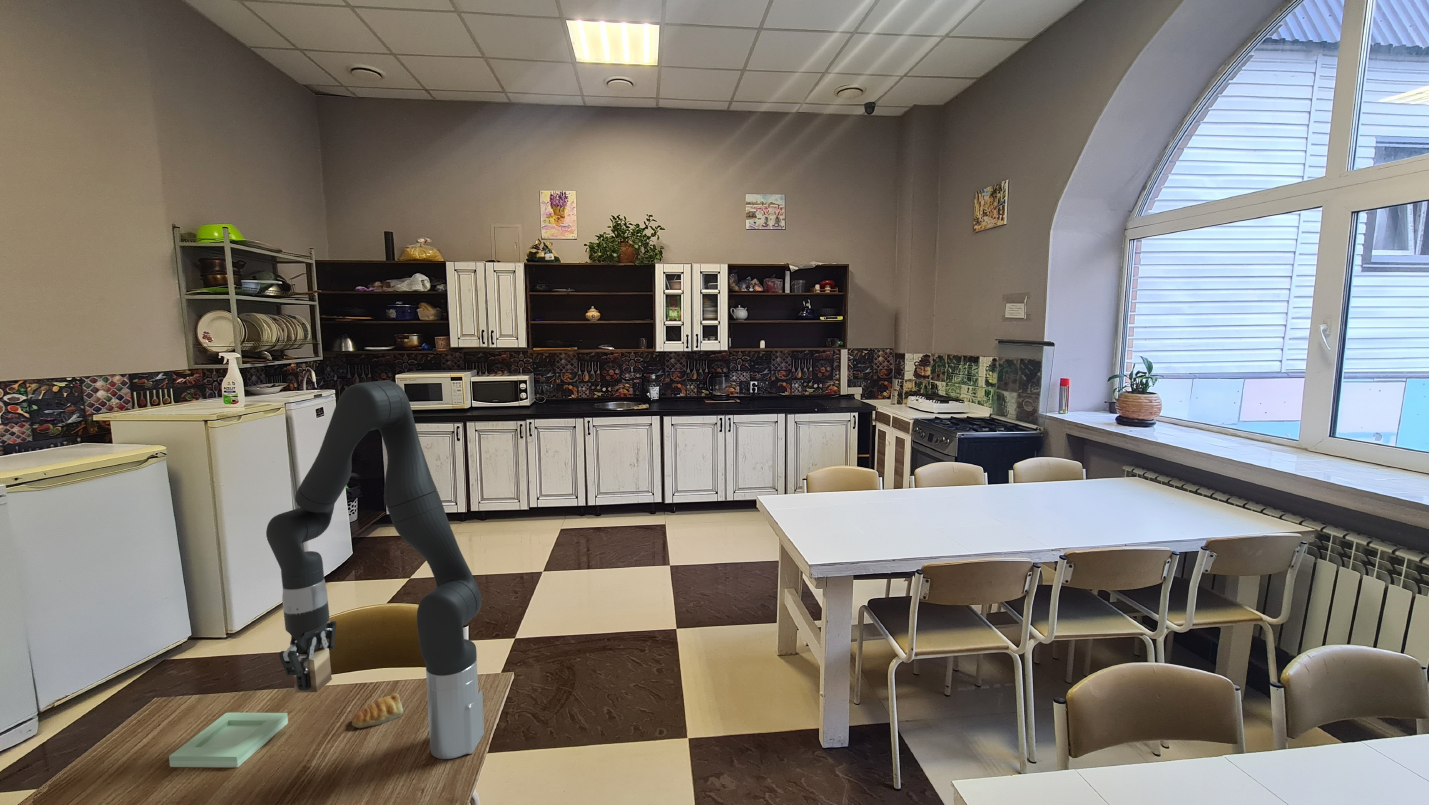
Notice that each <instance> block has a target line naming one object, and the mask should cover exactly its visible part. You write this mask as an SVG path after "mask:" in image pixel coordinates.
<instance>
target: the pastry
mask: <svg viewBox="0 0 1429 805" xmlns="http://www.w3.org/2000/svg"><path fill="white" fill-rule="evenodd" d="M403 713H404V710H403V705H402V703H401V698H400V696H399V694H398V693H395V692H394V693H392V694H391V695H388V696H385V697H381V698H377V699H375V700H374V701H373V702H372V703H370V704H369V705H367V706H364V707H363V708H361V709H360V710H359V711H357V712H356V713H355V714H354V715H353V717H352V719H351V725H352V727H354V728H358V729H363V728H368V727H373V726H374V727H375V726H379V725H381V724H385V723H388V722H391V721H393V720H396V719H398V718H400V717H401V716H402V715H403Z"/></svg>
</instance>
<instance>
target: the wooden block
mask: <svg viewBox="0 0 1429 805" xmlns="http://www.w3.org/2000/svg"><path fill="white" fill-rule="evenodd" d="M300 656H307V655H300ZM330 658H331V657H330V651H329V648H326V649H320V650H314V654H313V659H312V660H310V661H309V665H310V668H309V671H310V680H311V688H310V689H309V690H302V691H301V690H299V689H298V688H297V678H296V676H293V681H294V690H295V692H294V693H297V694H299V693H301V694H302V693H303V694H304V693H318V692H319V691H321V689H323V688H324V687H325V686H326V685H328V684H329V683H330V682H331V681H332V680H333V677H332V668H331V659H330ZM300 664H301V667H304V662H303V661H301V662H300ZM292 669H294V668H293V667H292Z"/></svg>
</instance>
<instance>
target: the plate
mask: <svg viewBox="0 0 1429 805" xmlns="http://www.w3.org/2000/svg"><path fill="white" fill-rule="evenodd" d="M288 716H289V715H288V712H225V713H224V714H222V715H221V716H220V717H218V718H217V719H216V720H214V721H213V722H212V723H210V724H209V725H208V726H206V727H205V728H204V729H203V730H201V732H198V733H197V734H196V735H195V736H193V737H192V738H191V739H190V740H188V741H187V742H186V743H184V744H183V745H182V746H181V747H179V748H178V749H176V750H175V751H174V752H173V753H171V754H170V755H169V756H168V761H169V767H170V768H239V767H240V766H241V765H242V764H243V763H244V762H246V761H247V760H248V759H249V758H250V757H251V756H252V755H254V754H255V753H256V752H257V751H258V750H259V749H261V748H262V746H264V745H265V744H266V743H268V742H269V740H271V739H272V738H273V737H275V735H276V734H278V733H279V731H281V730H282V729H283V728H284V727H285V726H286V725H287V724H289V717H288Z"/></svg>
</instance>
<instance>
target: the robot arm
mask: <svg viewBox="0 0 1429 805" xmlns="http://www.w3.org/2000/svg"><path fill="white" fill-rule="evenodd" d="M340 394H341V395H340V396H339V398H338V400H337V403H336V405H335V407H334V410H333V412H332V416H331V419H330V421H329V424H328V427H327V429H326V432H325V434H324V438H323V440H322V443H321V446H320V448H319V452H318V454H317V456H316V458H315V459H314V462H313V463H312V465H311V467H310V468H309V470H308V472H307V473H306V475H305V477H304V479H303V480H302V482H301V483H300V485H299V486H298V488H297V491H296V492H295V494H294V495H295V496H294V500H295V503H296V505H297V506H298V508H293V509H291V510H289V511H286V512H281V513H278V514H275V516H273V517H272V518H271V519H270V520H269V522H268V523H267V527H266V531H265V532H266V536H265V537H266V539H267V542H268V544H269V546H270V549H271V551H272V553H273V555H274V558H275V559H276V562H277V563H278V565H279V568H280V575H281V584H282V595H281V596H282V599H281V600H282V608H283V618H284V629H285V631H286V632H287V633H288V634H289V635H290V642H289V645H290V646H288V648H287V649H286V650H281V651H279V654H278V657H279V659H280V661H281V664H282V667H283V669H284V671H285V674H286V676H287V677H288V676H289V677H291V676H292V677H294V676H296V678H297V688H298V689H299V690H301V691H302V690H309V689H310V688H311V680H310V671H309V668H310V665H309V661H310V660H312V659H313V654H314V650H320V649H326V648H329V652H331V651H334V649H335V643H336V632H337V621H336V620H330V608H329V599H328V589H327V585H326V580H325V573H324V562H323V558H322V555H321V554H320V552H318V551H311V550H309V551H307V550H306V551H304V549H303V547H302V544H303V543H307V542H309V541H312V540H314V539H316V538H318V537H320V536H322V535H323V533H325V532H326V531H327V529H328V528H329V527H330V524H331V522H332V517H333V514H334V511H335V504H336V502H337V501H338V500H339V498H340V496H341V495H342V493H343V491H344V490H345V488H346V486H347V485H348V483H349V481H350V478H351V475H352V469H353V467H352V466H353V462H352V458H353V453H354V451H355V448H356V447H357V446H358V444H359V443H360V441H361V440H362V439H363V438H364V437H365V436H366V435H367V434H368V433H369V432H371V431H376V430H378V431H379V433H380V435H381V439H382V440H383V444H384V446H385V451H386V456H387V458H386V459H387V461H386V462H387V464H386V472H385V477H384V478H385V480H384V487H383V488H384V489H383V493H384V494H383V495H384V497H383V498H384V503H385V506H386V509H387V512H388V514H389V517H390V519H391V522H392V525H393V527H394V529H395V530H396V533H397V534H398V535H399V536H400V537H401V538H402V540H404V541H405V542H406V543H407V544H408V545H409V546H410V547H411V548H413V550H415V551H416V552H417V553H419V555H421V557H423V558H424V560H425V561H426V563H427V564H428V565H429V568H430V570H431V573H432V576H433V578H434V581H435V584H436V588H435V589H433V590H431V591H430V592H428V594H426V595H424V597H422V598H421V600H420V602H419V604H418V606H417V610H416V623H417V626H416V627H417V634H418V642H419V643H418V644H419V651H420V654H421V657H422V659H423V660H424V663H425V673H426V674H425V676H426V677H425V678H426V695H427V710H428V712H427V713H428V714H427V715H428V717H427V718H428V729H429V730H428V733H429V747H430V748H429V749H430V754H431V755H432V756H433V757H435V758H437V759H440V760H450V759H456V758H460V757H462V756H464V755H470V754H473V752H474V751H475V749H476V747H477V746H478V744H479V742H480V741H481V739H482V738H483V737H484V734H485V725H484V724H485V720H484V703H483V702H484V700H483V691H482V690H479V685H478V684H479V683H478V682H479V680H478V679H479V678H478V664H477V663H478V659H477V658H478V657H477V656H478V655H477V654H478V653H477V646H476V644H475V642H474V641H472V640H470V639H467V638H465V636H464V627H465V625H467V624H468V623H469V622H470V621H471V620H472V619H474V618H475V617H476V616H477V615H478V613H479V612H480V609H481V607H482V594H481V590H480V588H479V585H478V583H477V581H476V579H475V578H474V575H473V573H472V571H471V570H470V567H469V565H468V564H467V561H466V559H465V558H464V555H463V553H462V551H461V549H460V547H459V545H458V542H457V539H456V537H455V534H454V531H453V529H452V527H451V525H450V522H449V519H448V516H447V513H446V511H445V508H444V504H443V502H442V498H441V497H440V494H439V491H438V488H437V486H436V484H435V482H434V480H433V476H432V474H431V470H430V468H429V466H428V462H427V459H426V457H425V454H424V450H423V448H422V445H421V441H420V438H419V435H418V434H419V433H418V431H417V426H416V423H415V419H414V414H413V410H412V407H411V402H410V400H409V397H408V395H407V394H406V392H405V390H404V389H403V387H401V386H400V385H399V384H398V383H396V382H394V381H391V380H377V381H367V382H360V383H356V384H351V385H349V386H348V387H346V388H345V389H344V390H343V392H342V393H340ZM327 639H328V640H329V641H328V640H327ZM300 655H307V656H300ZM301 661H303V662H304V667H301V664H300V662H301ZM293 668H294V669H293Z"/></svg>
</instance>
